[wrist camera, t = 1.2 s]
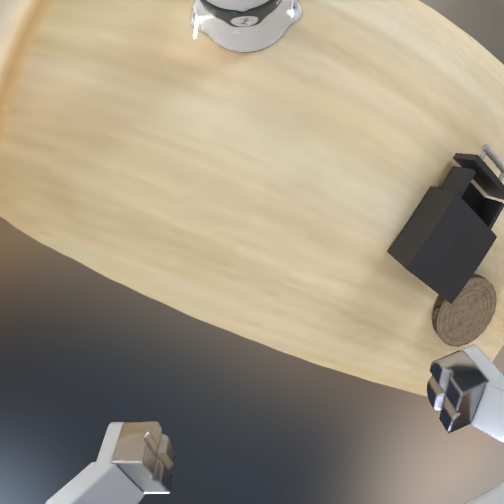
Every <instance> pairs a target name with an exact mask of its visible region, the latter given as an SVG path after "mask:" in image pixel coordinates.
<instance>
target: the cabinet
mask: <svg viewBox="0 0 504 504" xmlns="http://www.w3.org/2000/svg"><path fill="white" fill-rule="evenodd" d="M496 237H497V236H496V235H495V234H494V233H493V232H492V231H491V230H490V228H489V227H488V226H487V225H486V224H485V223H484V222H483V221H482V220H481V218H480V217H479V216H478V215H477V214H476V213H475V212H474V211H473V210H472V209H471V208H470V207H469V206H468V205H467V204H466V203H465V202H464V201H463V200H462V199H461V197H460V196H459V195H458V194H457V193H454V192H450V191H447V190H443V189H439V188H436V187H432V186H430V188H429V189H428V191H427V193H426V194H425V196H424V197H423V199H422V200H421V202H420V204H419V205H418V207H417V208H416V210H415V211H414V213H413V214H412V216H411V217H410V219H409V220H408V222H407V223H406V225H405V226H404V228H403V229H402V231H401V232H400V234H399V235H398V237H397V238H396V240H395V241H394V242H393V244H392V245H391V247H390V248H389V250H388V251H387V252H388V253H389V254H391V255H392V256H393V257H394V258H395V259H396V260H397V261H398V262H399V263H400V264H402V265H403V266H404V267H405V268H406V269H407V270H408V271H410V272H411V273H412V274H414V275H415V276H416V277H418V278H419V279H420V280H421V281H423V282H424V283H425V284H426V285H428V286H429V287H430V288H432V289H433V290H434V291H435V292H437V293H438V294H439V295H440V296H442V297H443V298H444V299H445V300H446V301H448V302H449V303H450V304H452V303H453V302H454V301H455V299H456V298H457V296H458V295H459V294H460V292H461V291H462V290H463V288H464V287H465V285H466V284H467V282H468V281H469V280H470V278H471V277H472V275H473V274H474V272H475V271H476V269H477V268H478V266H479V265H480V263H481V262H482V260H483V258H484V257H485V255H486V254H487V252H488V251H489V249H490V247H491V246H492V244H493V242H494V241H495V239H496Z"/></svg>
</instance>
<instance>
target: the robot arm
mask: <svg viewBox="0 0 504 504" xmlns="http://www.w3.org/2000/svg"><path fill="white" fill-rule="evenodd" d="M293 7H295V9H293ZM301 17H302V10H301V8H300V5H299V3H298V0H194V5H193V11H192V16H191V26H192V27H193V28H194V34H193V37H194V38H196V36H197V30H199V31H201V32H204V33H206V34H207V35H208V36H209V37H210V38H211V39H212V40H213V41H214V42H216V43H217V44H218V45H220V46H222V47H224V48H226V49H229V50H233V51H238V52H251V51H257V50H261V49H264V48H266V47H268V46H270V45H272V44H274V43H275V42H276V41H277V40H279V39H280V38H281V37H282V35H283V34H284V33H285V31H286V29H287V28H288V27H289V26H290V25H291V24H292V23H294V22H296V21H297V20H299V19H300V18H301ZM430 372H431V373H432V377H431V378H430V379H429V381H428V384H427V394H428V398H429V401H430V403H431V405H432V407H433V409H436V410H438V411H440V412H441V414H440V421H441V422H442V424H443V426H444V427H445V429H446V431H447V432H448V433H451V432H453V431H455V430H458V429H460V428H462V427H464V426H466V425H468V424H471V425H472V426H474V427H476V428H478V429H480V430H482V431H483V432H485V433H487V434H489V435H491V436H492V437H494V438H496V439H498V440H499V441H501V442H503V443H504V374H503V375H502V373H501V372H500V371H499V370H498V369H497V367H496V366H495V365H494V364H493V363H492V362H491V361H490V360H489V358H488V357H487V356H486V355H485V354H484V353H483V352H482V351H481V350H480V349H479V347H478V346H476V345H474V344H473V345H471V346H468V347H466V348H464V349H462V350H460V351H456V352H454V353H452V354H449V355H447V356H445V357H442V358H440V359H437V360H435V361H433V362H432V364H431V367H430ZM161 433H162V427H161V426H160V425H159V423H158V422H112V423H111V424H110V425H109V426H108V428H107V431H106V434H105V437H104V440H103V443H102V446H101V449H100V452H99V455H98V458H97V461H96V462H92V463H91V464H89V465H88V466H87V467H86V468H85V469H84V470H83V471H81V472H80V473H79V474H78V475H77V476H76V477H75V478H73V479H72V480H71V481H70V482H69V483H68V484H67V485H65V486H64V487H63V488H62V489H61V490H59V491H58V492H57V493H56V494H55V495H53V496H52V497H51V498H50V499H49V500H47V501H46V504H138V503H139V502H140V500H141V499H142V498H143V496H144V495H145V494H144V493H170V487H171V479H172V475H171V474H170V472H169V471H168V470H169V469H170V468H171V467H172V466H173V464H174V457H175V456H174V448H173V445H172V443H171V441H170V439H169V438H168V437H167V436H165V435H163V434H161ZM465 504H504V481H503V482H501V483H500V484H498V485H497V486H495V487H493V488H492V489H490V490H488V491H486V492H485V493H483V494H481V495H480V496H478V497H476V498H474V499H472V500H471V501H469V502H467V503H465Z"/></svg>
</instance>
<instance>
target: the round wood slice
mask: <svg viewBox="0 0 504 504" xmlns="http://www.w3.org/2000/svg"><path fill="white" fill-rule="evenodd" d="M495 307H496V292H495V290H494V288H493V285H492V284H491V283H489V282H488V281H487V280H486V279H485V278H483V277H482V276H480V275H478V274H473V275H472V277H471V278H470V280H469V281H468V282H467V284H466V285H465V287H464V288H463V290H462V291H461V292H460V294H459V295H458V296H457V298H456V299H455V301H454V302H453V303H452V304H450V303H449V302H448V301H446V300H445V299H444V298H443V297H442V296H440V295H439V296H438V297H437V300H436V302H435V305H434V308H433V313H432V323H433V328H434V330H435V331H436V333H437V334H438V336H439V337H440V338H441V339H442V341H443V342H444V343H446V344H448V345H450V346H462V345H466V344H468V343H470V342H471V341H473V340H475V339H476V338H477V337H478V336H479V335H480V334H482V333H483V332H484V330H485V329H486V327H487V326H488V325H489V323H490V321H491V319H492V317H493V314H494V312H495Z"/></svg>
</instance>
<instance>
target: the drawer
mask: <svg viewBox="0 0 504 504" xmlns="http://www.w3.org/2000/svg"><path fill="white" fill-rule="evenodd" d="M482 150H483V152H482V154H481V156H480V157H479V156H478V155H473V154H460V153H456V154H455V156H454V157H453V159H454V160H455V161H456V162H457V163H458V164H459V165H460V166H461V167H462V168H461V167H454V166H453V167H452V169H451V171H450V173H449V174H448V176H447V178H446V179H445V181H444V183H443V184H442V186H441V188H440V189H443V190H447V191H450V192H454V193H457V194H458V195H459V196H460V197H461V199H462V200H463V201H464V202H465V203H466V204H467V205H468V206H469V207H470V208H471V209H472V210H473V211H474V212H475V213H476V214H477V215H478V216H479V217H480V218H481V220H482V221H483V222H484V223H485V224H486V225H487V226H488V227H489V228H490V230H491V228H492V227H493V225H494V223H495V221H496V220H497V218H498V216H499V214H500V212H501V211H502V209H503V207H504V204H503V203H502V202H499V201H496V200H492V199H489V198H485V197H484V196H483V195H482V194H481V193H480V192H479V191H478V190H477V189H476V188H475V187H474V186H473V184H472V183H471V180H472V179H474V180H475V181H476V182H477V183H478V185H479V186H480V187H481V188H482V189H483V190H484V191H485V192H486V193H487V195H489V196H492V197H496V198H499V199H503V200H504V185H503V183H502V182H501V181H502V179H503V177H504V164H503V163H502V161H501V160H500V159H499V158H498V157H497V155H496V154H495V153H494V152H493V151H492V150H491V148H490V147H489V146H488V145H487V144H485V145H484V146H483V147H482ZM486 154H487V155H488V157H489V158H490V159H491V160H492V161H493V162H494V164H495V165H496V166H497V167H498V168H499V170H500V171H501V174H500V176H499V178H498V177H497V176H496V175H495V174H494V173H493V172H492V170H491V169H490V168H489V167H488V166H487V165H486V163H485V162H484V161H483V159H484V157H485V155H486Z"/></svg>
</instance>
